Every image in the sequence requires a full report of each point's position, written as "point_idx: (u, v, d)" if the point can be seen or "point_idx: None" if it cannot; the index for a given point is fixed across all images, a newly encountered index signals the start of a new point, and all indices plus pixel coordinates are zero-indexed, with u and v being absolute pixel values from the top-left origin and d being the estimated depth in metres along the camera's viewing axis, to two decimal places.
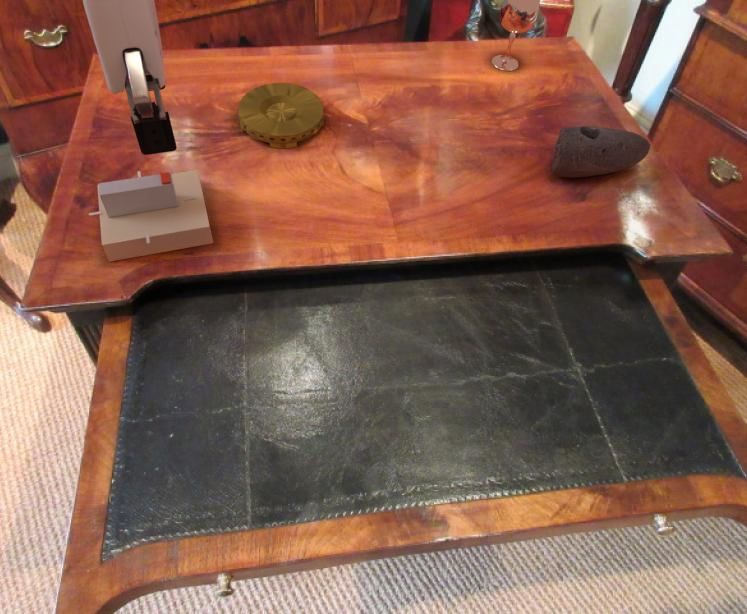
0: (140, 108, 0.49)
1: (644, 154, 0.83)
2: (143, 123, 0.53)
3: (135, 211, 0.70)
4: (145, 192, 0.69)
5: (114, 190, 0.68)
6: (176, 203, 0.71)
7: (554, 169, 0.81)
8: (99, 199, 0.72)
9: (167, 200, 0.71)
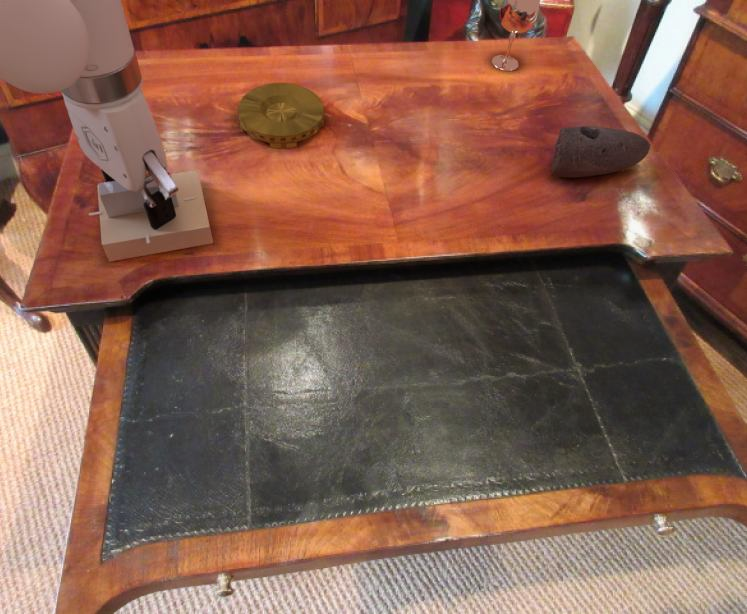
0: (169, 196, 0.63)
1: (644, 154, 0.83)
2: (157, 205, 0.66)
3: (135, 211, 0.70)
4: None
5: (114, 190, 0.68)
6: (176, 203, 0.71)
7: (554, 169, 0.81)
8: (99, 199, 0.72)
9: None
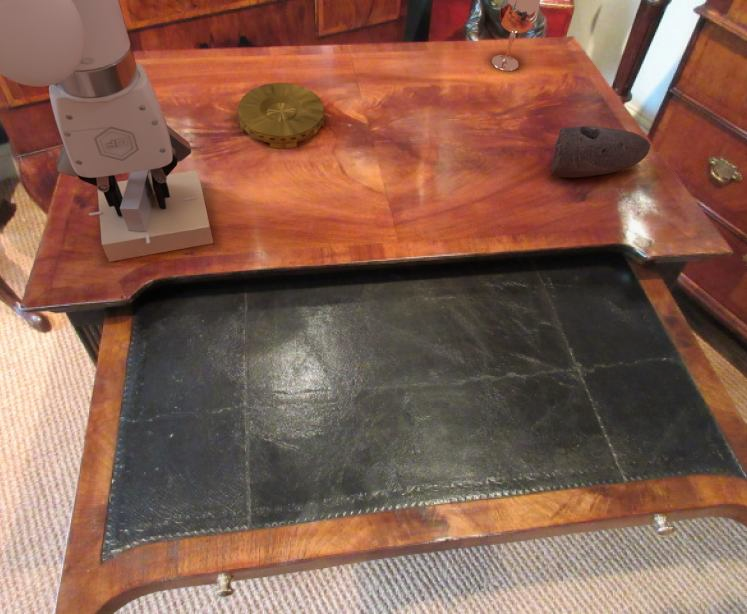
0: None
1: (644, 154, 0.83)
2: None
3: (150, 210, 0.71)
4: (147, 183, 0.70)
5: (137, 198, 0.67)
6: None
7: (554, 169, 0.81)
8: (99, 199, 0.72)
9: None
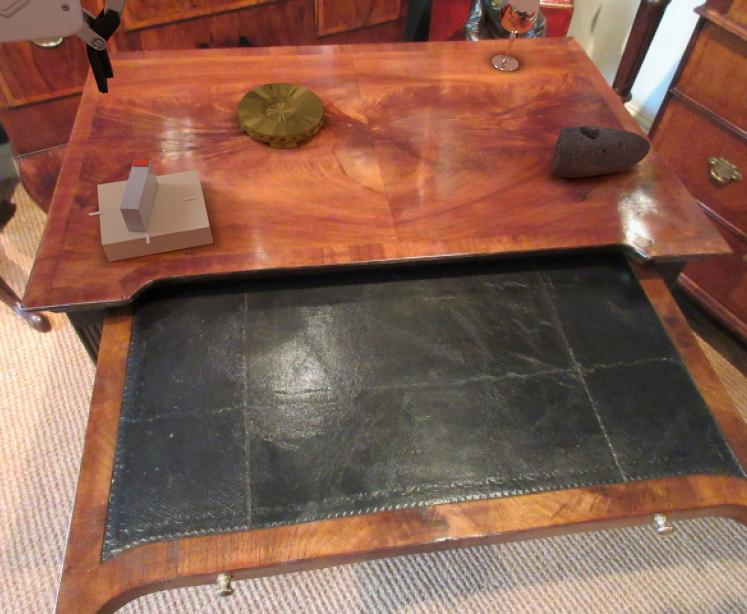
0: (124, 2, 0.49)
1: (644, 154, 0.83)
2: None
3: (150, 210, 0.71)
4: (147, 183, 0.70)
5: (137, 198, 0.67)
6: (156, 180, 0.73)
7: (554, 169, 0.81)
8: (99, 199, 0.72)
9: (154, 181, 0.72)
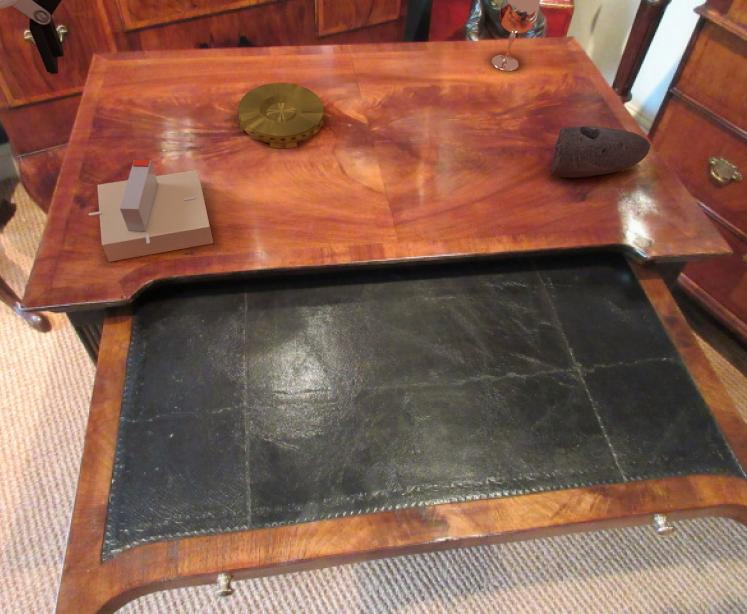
0: None
1: (644, 154, 0.83)
2: None
3: (150, 210, 0.71)
4: (147, 183, 0.70)
5: (137, 198, 0.67)
6: (156, 180, 0.73)
7: (554, 169, 0.81)
8: (99, 199, 0.72)
9: (154, 181, 0.72)
